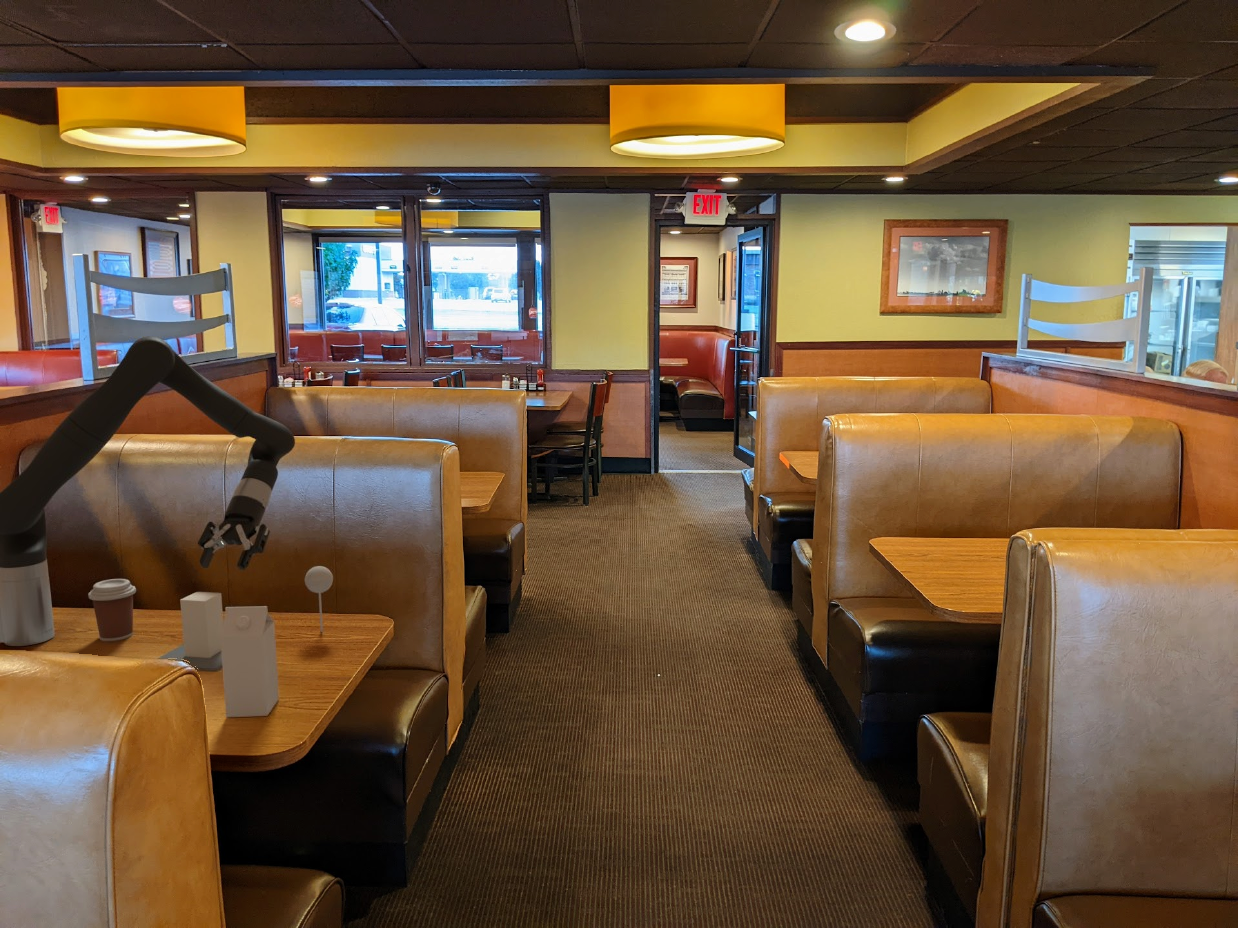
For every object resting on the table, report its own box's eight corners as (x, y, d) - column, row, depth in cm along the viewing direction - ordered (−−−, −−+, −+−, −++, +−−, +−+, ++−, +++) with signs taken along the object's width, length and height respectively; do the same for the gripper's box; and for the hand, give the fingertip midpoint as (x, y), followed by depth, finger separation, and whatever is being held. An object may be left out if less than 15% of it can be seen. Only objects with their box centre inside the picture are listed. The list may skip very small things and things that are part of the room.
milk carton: (239, 700, 166) (232, 601, 162) (279, 699, 166) (273, 600, 163) (226, 718, 159) (218, 614, 155) (267, 716, 159) (260, 612, 156)
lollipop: (326, 637, 198) (323, 571, 195) (302, 635, 199) (298, 569, 197) (340, 628, 204) (337, 563, 201) (317, 626, 205) (313, 561, 202)
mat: (148, 666, 181) (148, 663, 181) (194, 640, 196) (194, 637, 196) (217, 671, 179) (216, 668, 179) (258, 644, 194) (258, 641, 194)
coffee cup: (147, 628, 203) (143, 577, 201) (127, 643, 194) (122, 589, 192) (106, 628, 203) (101, 577, 201) (83, 643, 194) (78, 589, 192)
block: (184, 656, 185) (180, 599, 183) (201, 646, 191) (197, 591, 189) (209, 657, 184) (205, 601, 183) (225, 648, 190) (221, 592, 188)
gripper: (211, 492, 200) (182, 557, 191) (271, 495, 197) (244, 560, 188) (227, 511, 206) (200, 574, 197) (285, 513, 203) (260, 577, 194)
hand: (222, 567), depth 192 cm, fingers open, 8 cm apart
